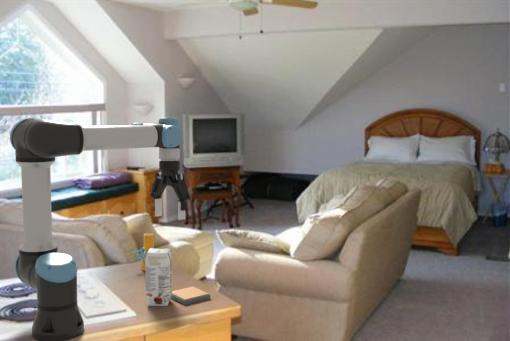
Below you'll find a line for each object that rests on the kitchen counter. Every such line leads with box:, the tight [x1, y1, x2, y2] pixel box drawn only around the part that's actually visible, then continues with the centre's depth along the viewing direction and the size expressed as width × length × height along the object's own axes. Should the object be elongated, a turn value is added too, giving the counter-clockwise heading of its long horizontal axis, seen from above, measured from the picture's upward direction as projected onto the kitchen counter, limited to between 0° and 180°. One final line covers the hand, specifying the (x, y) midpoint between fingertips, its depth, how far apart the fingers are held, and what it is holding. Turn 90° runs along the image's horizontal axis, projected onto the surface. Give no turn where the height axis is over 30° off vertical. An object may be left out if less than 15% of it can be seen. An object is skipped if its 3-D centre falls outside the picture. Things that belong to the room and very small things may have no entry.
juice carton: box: [144, 247, 173, 307], centre depth 206 cm, size 8×9×19 cm
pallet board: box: [170, 286, 211, 306], centre depth 214 cm, size 11×11×2 cm
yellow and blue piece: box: [133, 232, 161, 272], centre depth 246 cm, size 12×10×15 cm
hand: (169, 217), depth 218 cm, fingers open, 13 cm apart
